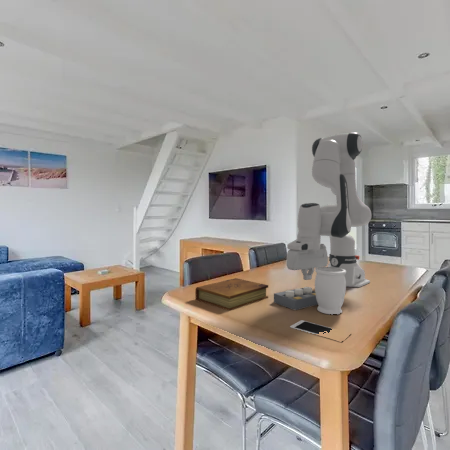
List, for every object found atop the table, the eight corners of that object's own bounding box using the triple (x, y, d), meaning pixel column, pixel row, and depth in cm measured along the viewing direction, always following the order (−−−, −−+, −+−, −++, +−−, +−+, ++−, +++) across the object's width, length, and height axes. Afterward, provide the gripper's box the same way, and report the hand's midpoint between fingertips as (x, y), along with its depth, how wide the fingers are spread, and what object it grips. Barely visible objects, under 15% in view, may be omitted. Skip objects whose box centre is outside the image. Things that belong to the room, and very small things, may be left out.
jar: (309, 306, 113) (310, 266, 112) (336, 306, 114) (337, 266, 113) (321, 316, 102) (322, 272, 101) (350, 316, 103) (352, 272, 102)
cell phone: (341, 344, 82) (342, 342, 82) (289, 328, 93) (289, 326, 93) (352, 335, 88) (352, 333, 88) (301, 321, 99) (301, 319, 99)
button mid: (298, 295, 120) (298, 288, 120) (305, 297, 117) (305, 289, 117) (292, 296, 118) (293, 289, 118) (299, 298, 115) (299, 291, 115)
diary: (234, 290, 137) (234, 277, 137) (268, 299, 124) (268, 285, 124) (195, 300, 121) (195, 286, 121) (229, 311, 108) (229, 295, 108)
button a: (289, 297, 117) (289, 289, 117) (295, 299, 114) (296, 291, 114) (283, 298, 115) (283, 291, 115) (289, 301, 112) (289, 293, 112)
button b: (307, 293, 122) (307, 286, 122) (313, 295, 120) (313, 288, 120) (301, 295, 121) (302, 287, 121) (308, 296, 118) (308, 289, 118)
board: (302, 296, 127) (302, 287, 126) (324, 302, 117) (324, 293, 117) (273, 302, 118) (273, 292, 118) (294, 310, 109) (295, 300, 108)
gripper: (319, 242, 128) (318, 275, 128) (284, 244, 116) (283, 280, 117) (332, 244, 122) (331, 278, 123) (296, 246, 111) (295, 283, 111)
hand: (307, 279), depth 120 cm, fingers closed
